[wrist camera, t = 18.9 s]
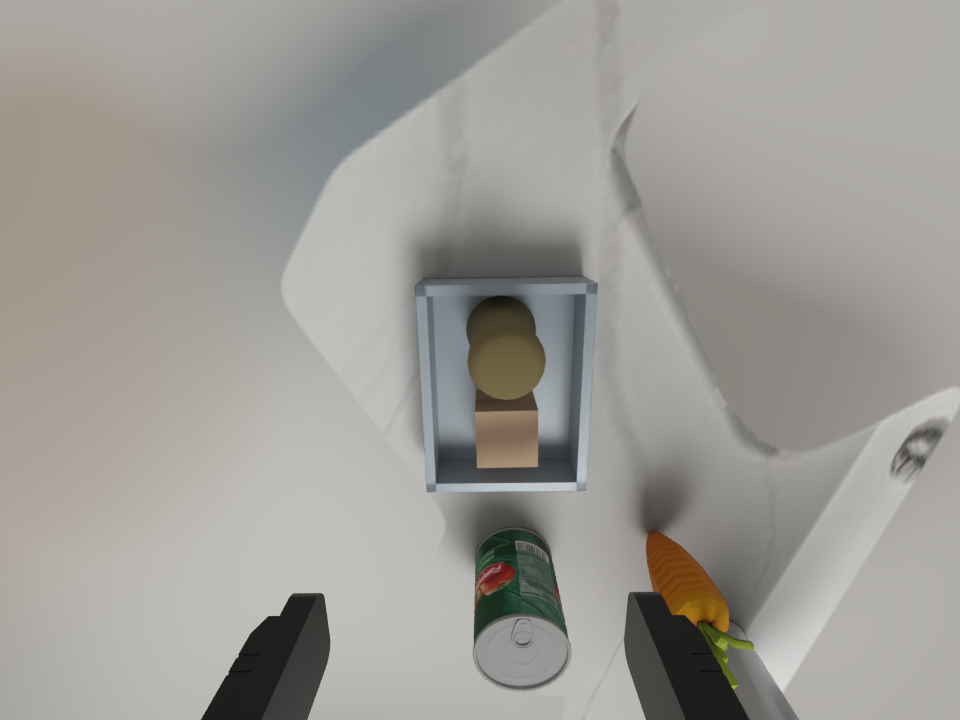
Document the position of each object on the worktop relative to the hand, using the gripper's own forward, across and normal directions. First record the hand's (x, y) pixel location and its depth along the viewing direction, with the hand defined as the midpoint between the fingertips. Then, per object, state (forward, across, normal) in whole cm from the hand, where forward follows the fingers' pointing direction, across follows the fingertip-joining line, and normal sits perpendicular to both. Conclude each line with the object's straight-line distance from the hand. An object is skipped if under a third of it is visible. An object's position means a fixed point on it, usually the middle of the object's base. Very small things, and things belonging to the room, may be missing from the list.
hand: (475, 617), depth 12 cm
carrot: (+30, -17, +20) cm, 40 cm away
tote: (+29, -2, +3) cm, 30 cm away
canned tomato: (+30, -3, +23) cm, 38 cm away
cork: (+29, -2, -1) cm, 29 cm away
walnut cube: (+29, -2, +7) cm, 29 cm away
